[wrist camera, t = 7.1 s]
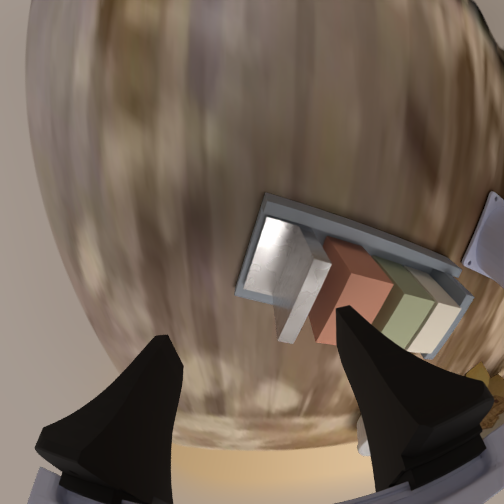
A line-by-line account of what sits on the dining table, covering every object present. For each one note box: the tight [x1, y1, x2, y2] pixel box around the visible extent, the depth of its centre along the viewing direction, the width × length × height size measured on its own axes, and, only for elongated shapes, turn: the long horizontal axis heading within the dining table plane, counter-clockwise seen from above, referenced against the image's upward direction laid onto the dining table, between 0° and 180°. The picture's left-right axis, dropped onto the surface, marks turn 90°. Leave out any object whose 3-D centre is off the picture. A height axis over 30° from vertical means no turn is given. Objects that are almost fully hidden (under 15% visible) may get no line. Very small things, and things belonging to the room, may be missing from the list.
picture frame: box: [466, 362, 504, 439], centre depth 24 cm, size 23×9×15 cm, turn 95°
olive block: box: [372, 255, 435, 349], centre depth 18 cm, size 3×4×6 cm
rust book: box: [308, 236, 394, 345], centre depth 18 cm, size 3×5×6 cm, turn 164°
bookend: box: [243, 214, 332, 344], centre depth 17 cm, size 3×6×6 cm, turn 164°
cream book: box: [404, 265, 461, 354], centre depth 19 cm, size 3×4×6 cm
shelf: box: [234, 192, 474, 359], centre depth 19 cm, size 18×8×6 cm, turn 74°
